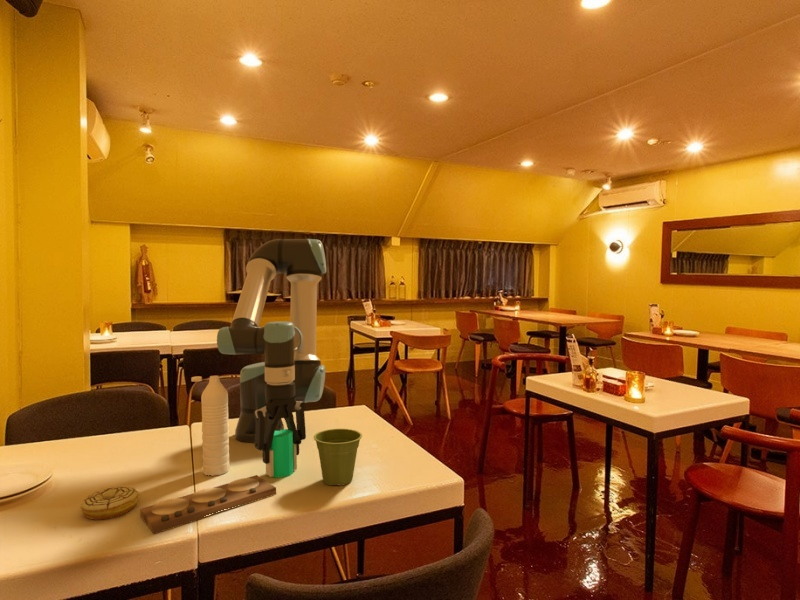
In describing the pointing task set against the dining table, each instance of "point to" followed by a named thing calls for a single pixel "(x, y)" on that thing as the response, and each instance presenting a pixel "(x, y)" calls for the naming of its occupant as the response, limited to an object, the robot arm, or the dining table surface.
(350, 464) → the plant pot
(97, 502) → the decorated donut
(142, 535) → the dining table surface
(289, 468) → the candle
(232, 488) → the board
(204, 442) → the water bottle
